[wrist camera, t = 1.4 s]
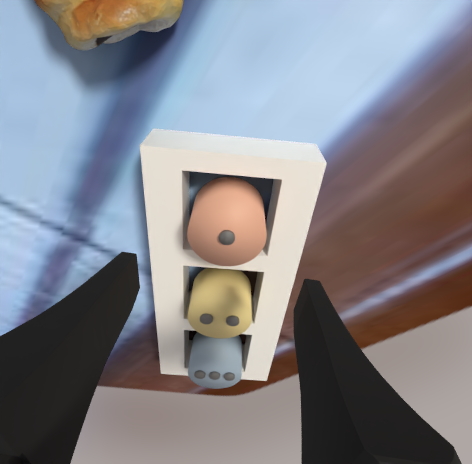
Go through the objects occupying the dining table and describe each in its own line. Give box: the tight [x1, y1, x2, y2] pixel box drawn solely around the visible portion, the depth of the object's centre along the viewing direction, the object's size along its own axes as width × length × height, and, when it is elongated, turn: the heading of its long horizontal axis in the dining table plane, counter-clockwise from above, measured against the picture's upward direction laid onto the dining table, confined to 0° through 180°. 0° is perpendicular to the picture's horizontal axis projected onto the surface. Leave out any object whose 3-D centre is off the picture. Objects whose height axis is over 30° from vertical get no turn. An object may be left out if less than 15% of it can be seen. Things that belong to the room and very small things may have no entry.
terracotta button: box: [187, 177, 267, 266], centre depth 18 cm, size 4×4×3 cm
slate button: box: [188, 332, 242, 389], centre depth 26 cm, size 4×4×3 cm
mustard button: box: [188, 268, 252, 339], centre depth 22 cm, size 4×4×3 cm
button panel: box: [140, 128, 327, 381], centre depth 24 cm, size 22×10×3 cm, turn 175°
